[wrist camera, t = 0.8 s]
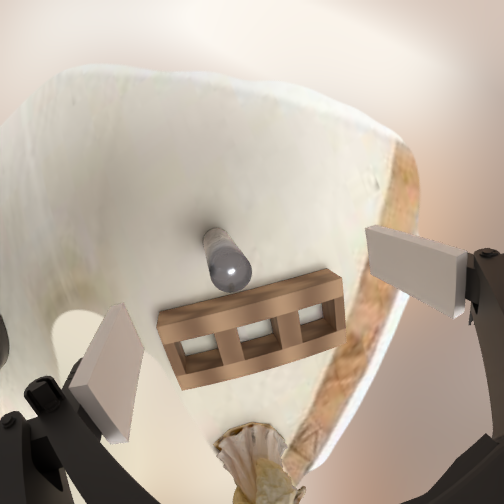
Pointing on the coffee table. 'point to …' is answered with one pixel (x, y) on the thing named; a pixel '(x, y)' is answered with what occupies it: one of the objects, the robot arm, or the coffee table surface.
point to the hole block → (250, 311)
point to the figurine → (257, 465)
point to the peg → (226, 261)
